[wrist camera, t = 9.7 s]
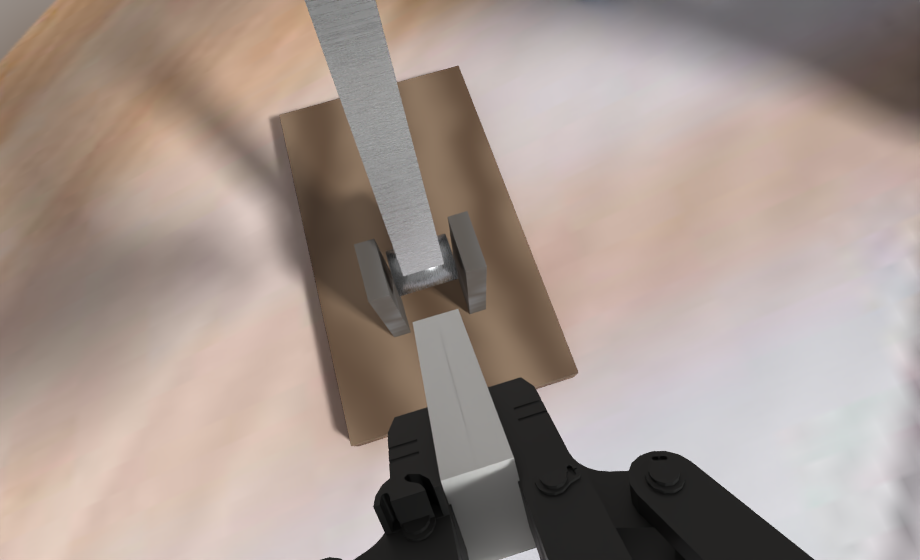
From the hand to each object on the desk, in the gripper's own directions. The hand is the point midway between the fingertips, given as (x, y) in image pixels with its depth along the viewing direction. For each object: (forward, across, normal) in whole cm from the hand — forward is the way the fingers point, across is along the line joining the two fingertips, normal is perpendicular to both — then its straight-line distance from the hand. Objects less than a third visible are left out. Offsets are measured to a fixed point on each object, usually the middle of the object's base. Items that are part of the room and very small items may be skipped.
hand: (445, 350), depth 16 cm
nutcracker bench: (+24, 0, -4) cm, 24 cm away
